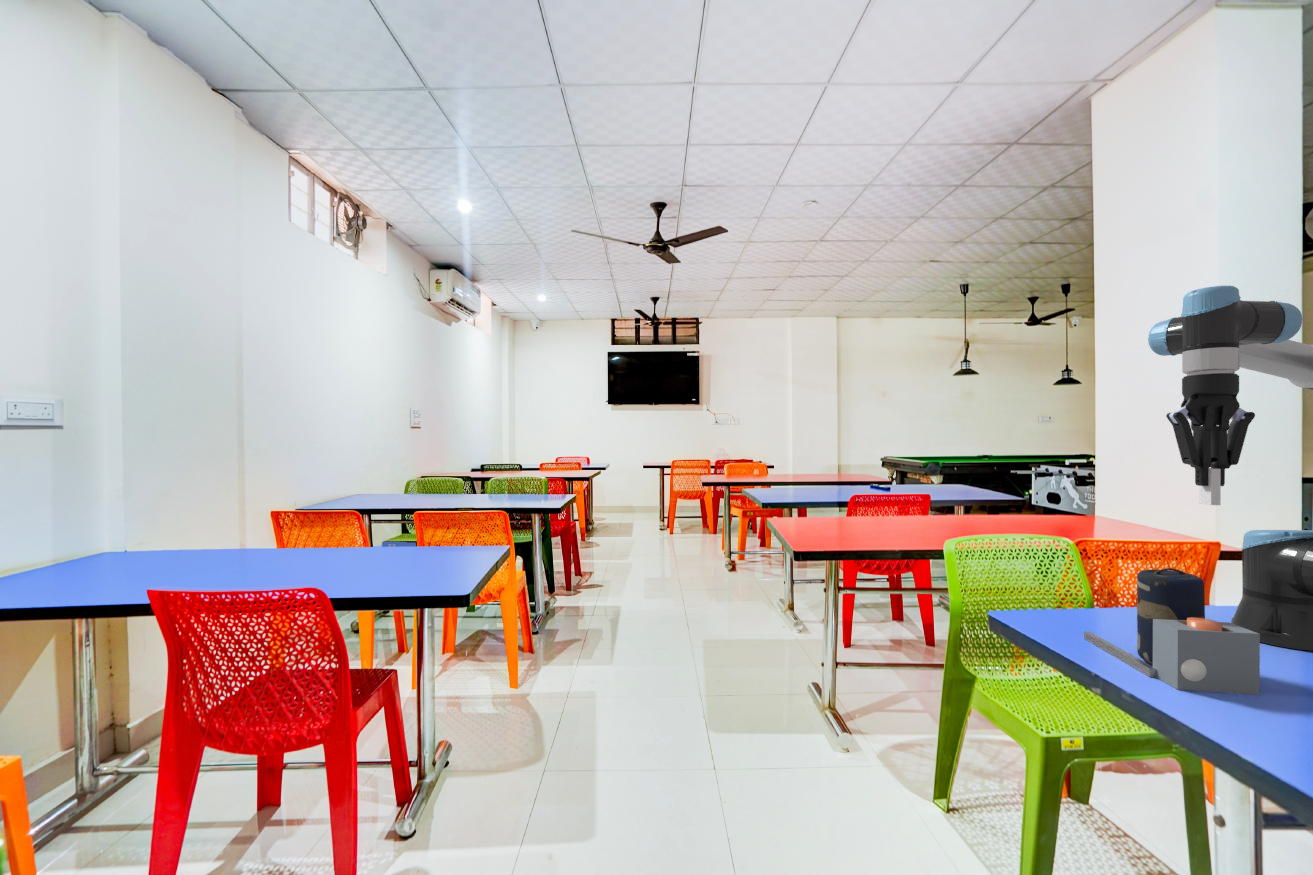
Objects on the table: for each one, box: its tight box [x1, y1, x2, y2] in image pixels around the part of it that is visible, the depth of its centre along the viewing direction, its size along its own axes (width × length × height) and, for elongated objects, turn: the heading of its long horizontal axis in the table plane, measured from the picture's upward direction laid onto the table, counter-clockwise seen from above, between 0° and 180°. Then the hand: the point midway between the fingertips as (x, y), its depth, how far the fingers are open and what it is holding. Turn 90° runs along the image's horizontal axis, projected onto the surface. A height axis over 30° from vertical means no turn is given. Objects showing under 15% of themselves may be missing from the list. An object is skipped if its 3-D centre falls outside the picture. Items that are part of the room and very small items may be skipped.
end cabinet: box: [1152, 619, 1261, 696], centre depth 99 cm, size 12×6×10 cm, turn 81°
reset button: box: [1187, 617, 1222, 631], centre depth 100 cm, size 4×4×4 cm
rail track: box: [1083, 631, 1158, 679], centre depth 111 cm, size 15×20×2 cm
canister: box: [1136, 567, 1206, 665], centre depth 108 cm, size 10×10×18 cm
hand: (1209, 504), depth 106 cm, fingers closed
